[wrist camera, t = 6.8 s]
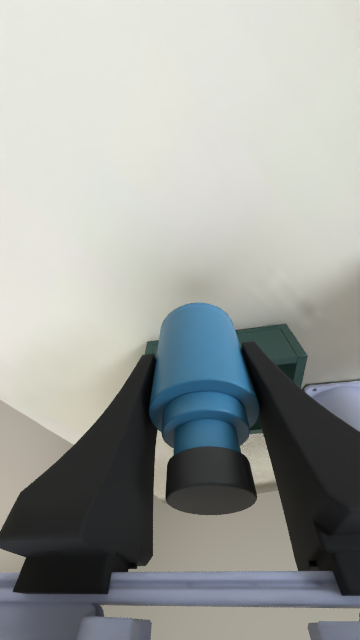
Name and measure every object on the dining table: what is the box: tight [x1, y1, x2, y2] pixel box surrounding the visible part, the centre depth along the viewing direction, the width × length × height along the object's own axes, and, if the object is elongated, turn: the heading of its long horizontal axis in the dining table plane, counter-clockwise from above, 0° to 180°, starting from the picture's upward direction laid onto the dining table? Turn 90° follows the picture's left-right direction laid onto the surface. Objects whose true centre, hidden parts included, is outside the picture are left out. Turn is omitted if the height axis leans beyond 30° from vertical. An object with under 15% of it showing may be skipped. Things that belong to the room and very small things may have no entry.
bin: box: [145, 324, 308, 434], centre depth 24 cm, size 15×12×5 cm
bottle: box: [149, 303, 260, 515], centre depth 10 cm, size 5×5×8 cm
